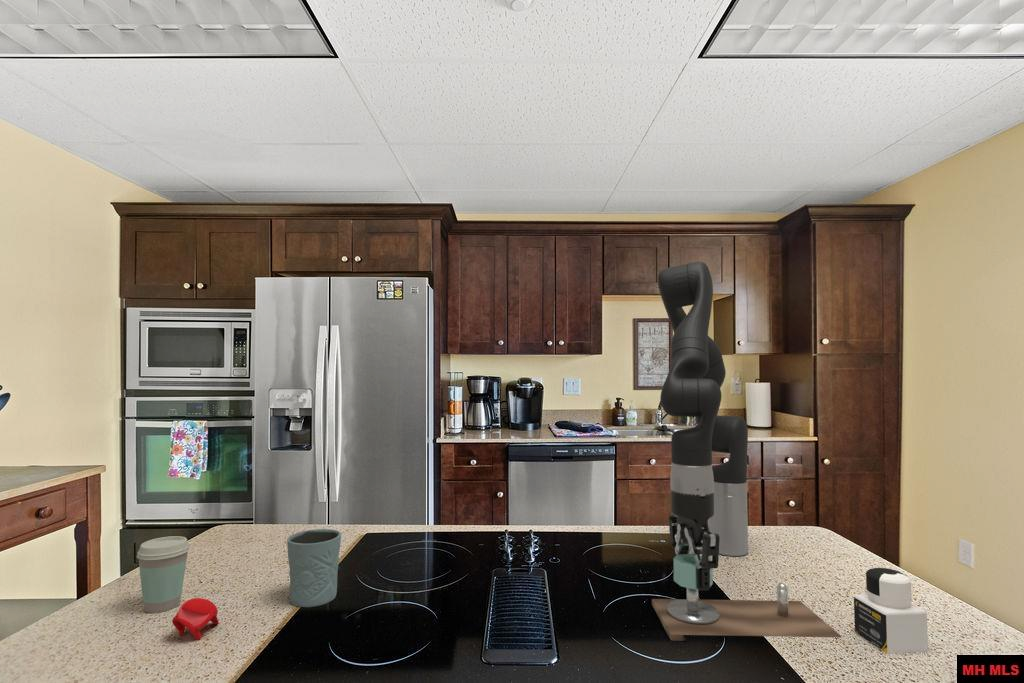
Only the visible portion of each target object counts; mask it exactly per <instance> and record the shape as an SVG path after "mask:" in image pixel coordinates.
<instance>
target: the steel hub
mask: <svg viewBox="0 0 1024 683" xmlns="http://www.w3.org/2000/svg"><path fill="white" fill-rule="evenodd" d="M698 600H699V590H698V589H697V590H695V589H691V588H686V599H682V600H675V601H672V602H670V603H669V604H668V605H667V613H668V614H669V615H670V616H671V617H672V618H674V619H676V620H678V621H681V622H684V623H688V624H693V625H709V624H713V623H715V622H717V621H718V620H719V611H718V610H717V609H716V608H715V607H713V606H712V605H710V604H707V603H704V602H701V601H698Z"/></svg>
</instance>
